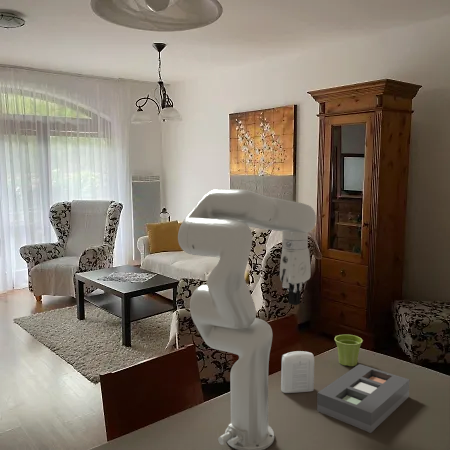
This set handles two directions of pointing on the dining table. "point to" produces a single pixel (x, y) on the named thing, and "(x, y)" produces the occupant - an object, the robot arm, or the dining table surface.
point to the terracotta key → (377, 379)
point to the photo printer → (297, 372)
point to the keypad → (363, 397)
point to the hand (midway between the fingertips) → (294, 303)
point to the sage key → (351, 400)
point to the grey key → (365, 387)
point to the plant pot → (348, 349)
